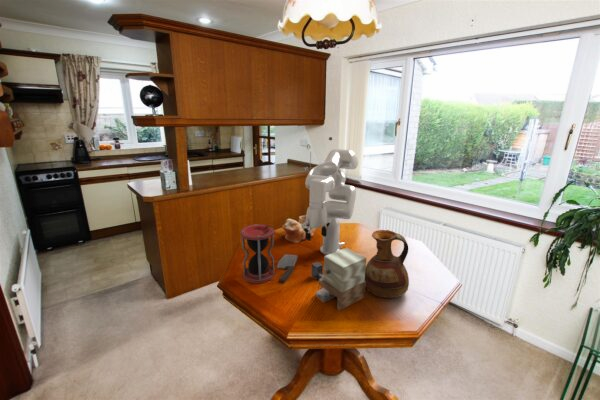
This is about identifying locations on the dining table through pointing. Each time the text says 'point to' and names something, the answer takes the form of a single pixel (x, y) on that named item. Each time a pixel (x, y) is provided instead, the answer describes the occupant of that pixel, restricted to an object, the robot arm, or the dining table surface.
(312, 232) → the tan rock
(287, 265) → the cleaver
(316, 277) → the hammer
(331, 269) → the cabinet
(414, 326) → the dining table surface
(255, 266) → the hourglass
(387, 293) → the ceramic pitcher
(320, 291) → the rectangular block
